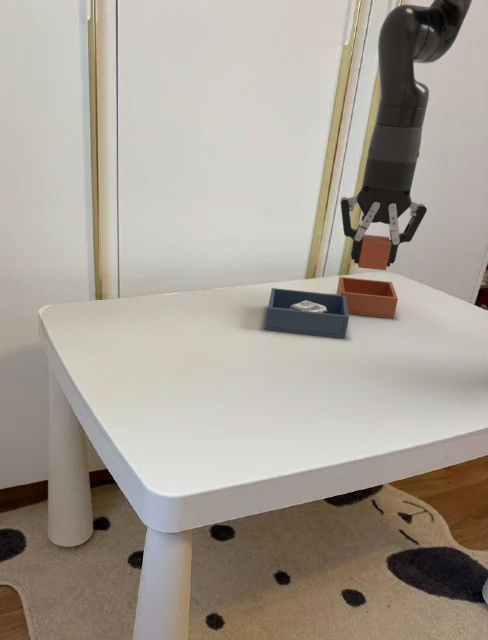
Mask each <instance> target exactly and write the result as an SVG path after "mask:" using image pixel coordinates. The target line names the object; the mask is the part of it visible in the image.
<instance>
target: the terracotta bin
mask: <svg viewBox="0 0 488 640" xmlns="http://www.w3.org/2000/svg"><path fill="white" fill-rule="evenodd" d="M335 295H342V296H346V300H347V307H348V315H357V316H358V315H359V316H367V317H375V318H387V319H395V314H396V310H397V305H398V300H399V297H398V295H397V292H396V290H395V287H394V284H393V281H385V280H375V279H365V278H357V277H356V278H355V277H345V276H339V277H338V282H337V289H336V294H335Z"/></svg>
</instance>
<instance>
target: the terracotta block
mask: <svg viewBox="0 0 488 640" xmlns="http://www.w3.org/2000/svg"><path fill="white" fill-rule="evenodd" d="M390 240H391V239H390V236H383V235H373V234H364V235H363V237H362V247H361V252H360V257H359V263H358V264H357V268H360V269H369V270H378V271H387V267H388V266H387V263H388V258H389V254H390V249H391V244H392V243H391V241H390Z"/></svg>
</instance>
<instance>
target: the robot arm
mask: <svg viewBox="0 0 488 640" xmlns="http://www.w3.org/2000/svg"><path fill="white" fill-rule="evenodd" d="M472 3H473V0H433V2H432V3H431V4H430V6H424V5H415V4H399V5H398V6H396V7H394V8H393V9H391V11H390V12H389V13H388V14H387V15H386V17H385V19H384V21H383V23H382V25H381V28H380V30H379V34H378V39H377V40H378V41H377V58H378V59H377V60H378V77H379V78H378V79H379V86H380V87H379V90H380V91H379V92H380V95H379V100H378V105H377V111H376V117H375V122H374V126H373V130H372V134H371V137H370V139H369V140H370V141H369V146H368V151H367V157H366V163H365V168H364V174H363V178H362V185H361V188H360V190H359V192H358V193H357V195H356V196H351V197H346V196H342V197H341V198H340V200H339V201H340V210H341V211H340V212H341V220H342V229H343V233H344V236H345V237H349V238H350V239H352V244H351V250H350V259H351V260H353V263H354V264H357V265H358V263H359V257H360V252H361V247H362V237H363V235H366V234H365V233H366V232H367V230H368V229H369V228H370V225H371V223H373V224H377V223H382V224H385V225H388V229H389V239H390V241H391V243H392V244H391V249H390V254H389V258H388V263H387V267H391V264H394V263H395V262H396V258H397V253H398V248H399V245H401V244H403V243H410V242H411V241H412V239H413V237H414V236H415V234H416V232H417V231H418V228H419V227H420V224H421V223H422V221H423V220H424V217H425V215H426V214H427V210H428V209H427V207H426V206H425V204H423V203H418V202H415V201H412V198H411V191H412V187H413V181H414V177H415V171H416V167H417V163H418V158H419V157H420V149H421V145H422V144H421V143H422V133H423V126H424V122H425V118H426V117H425V116H426V112H427V108H428V104H429V98H430V89H429V87H428V86H427V85H426V84H424V83H423V82H420V81H418V80H417V79H416V77H415V65H414V64H426V65H427V64H433V63H435V62H436V61H438V60H440V59H441V58H442V57H443V56H444V55H446V54H447V52H448V51H449V50H450V49H452V48H451V47H453V45H454V43H455V41H456V40H457V38H458V35H459V33H460V30H461V28H462V26H463V24H464V21H465V19H466V16H467V15H468V13H469V10H470V7H471V5H472ZM356 204H357V205H358V206H359V208H360V210H361V212H362V216H361V218H360V220H359V222H358V225H357V226H356V228H353V227H352V221H351V212H353V211H354V209H355V206H356ZM408 209H409V215H410V219H409V221H408V223H407V225H406V227H405V228H404V230H403V232H400V229H399V218H400V217H401V216H402V215H403V214H404V213H405V212H406V211H407V210H408Z"/></svg>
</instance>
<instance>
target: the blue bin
mask: <svg viewBox="0 0 488 640" xmlns="http://www.w3.org/2000/svg"><path fill="white" fill-rule="evenodd" d="M305 300H307V301H310V302H313V303H317V304H320V305H323V306H325V307H326V309H327V313H318V312H308V311H299V310H290V308H291V305H293V304H298V303H300V302H303V301H305ZM349 315H350V314H348V307H347V300H346V296H342V295H336V294H334V293H333V294H332V293H323V292H315V291H314V292H313V291H304V290H296V289H295V290H293V289H286V288H277V287H272V288H271V290H270V296H269V300H268V305H267V313H266V323H265V330H268V331H277V332H284V333H285V332H287V333H295V334H304V335H311V336H319V337H329V338H336V339H337V338H338V339H346V335H347V331H348V330H347V329H348V324H349V319H350V316H349Z"/></svg>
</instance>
